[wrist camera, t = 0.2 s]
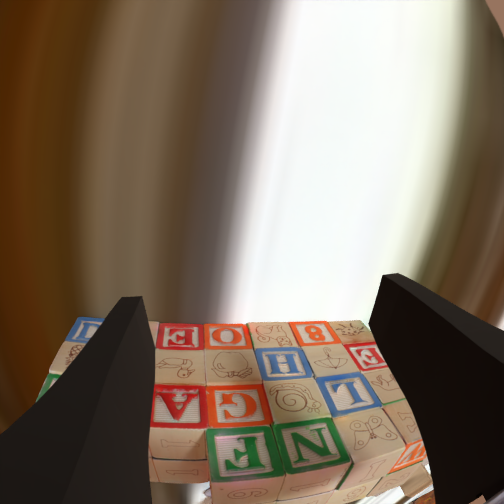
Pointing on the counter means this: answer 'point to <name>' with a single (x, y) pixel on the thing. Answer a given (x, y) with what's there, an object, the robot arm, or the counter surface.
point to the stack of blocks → (272, 410)
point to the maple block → (417, 482)
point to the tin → (426, 499)
